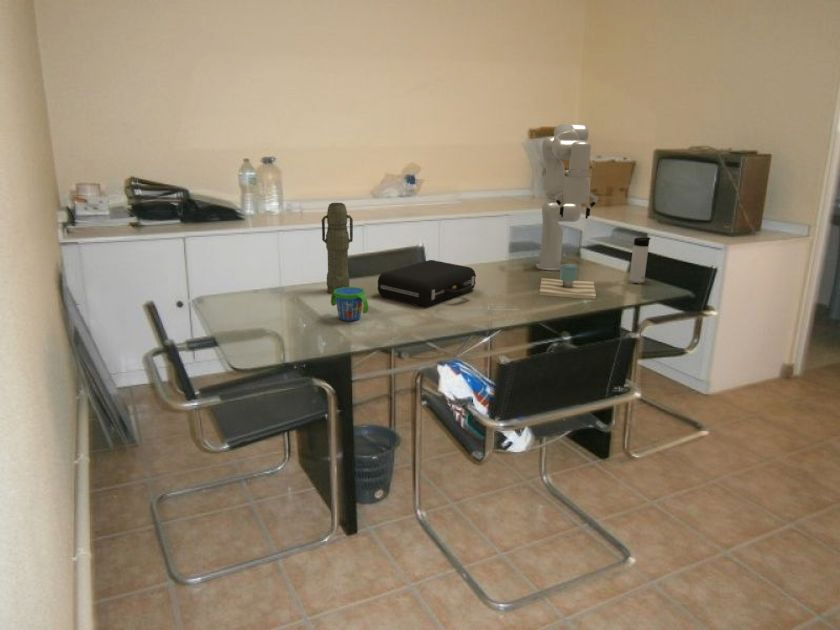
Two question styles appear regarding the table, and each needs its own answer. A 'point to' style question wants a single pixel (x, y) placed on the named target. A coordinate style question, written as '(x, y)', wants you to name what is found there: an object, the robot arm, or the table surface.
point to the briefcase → (426, 282)
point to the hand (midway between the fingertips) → (574, 217)
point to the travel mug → (639, 260)
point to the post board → (567, 288)
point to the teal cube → (568, 272)
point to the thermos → (337, 245)
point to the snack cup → (349, 302)
